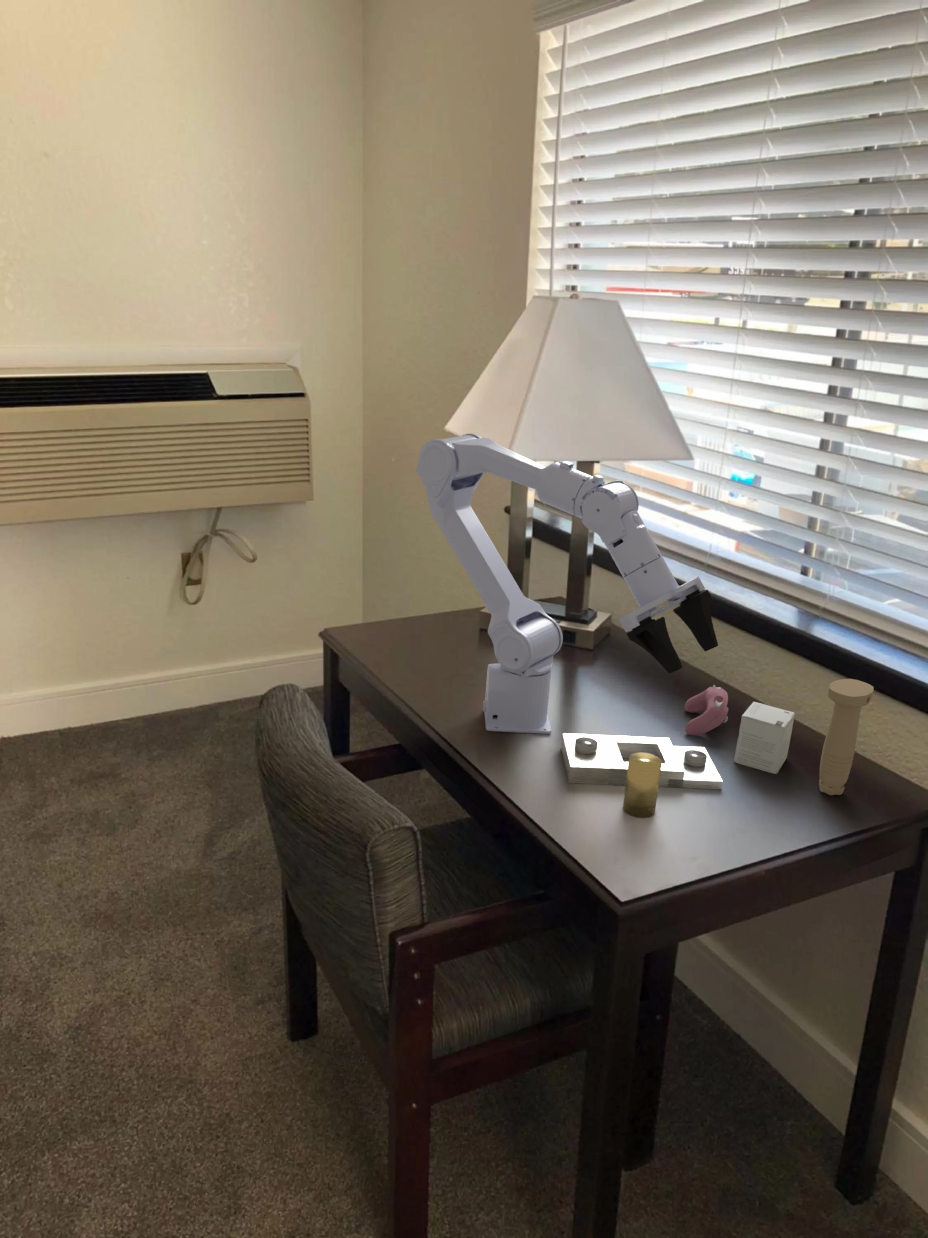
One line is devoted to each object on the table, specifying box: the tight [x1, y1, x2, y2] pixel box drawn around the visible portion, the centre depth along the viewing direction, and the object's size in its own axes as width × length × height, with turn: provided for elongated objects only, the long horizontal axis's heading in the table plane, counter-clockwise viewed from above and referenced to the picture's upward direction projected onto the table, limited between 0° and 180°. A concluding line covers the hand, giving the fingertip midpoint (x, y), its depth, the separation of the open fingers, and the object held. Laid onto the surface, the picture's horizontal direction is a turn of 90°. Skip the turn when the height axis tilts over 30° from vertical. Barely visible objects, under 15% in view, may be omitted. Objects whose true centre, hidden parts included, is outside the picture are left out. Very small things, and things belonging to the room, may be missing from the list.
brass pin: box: [622, 752, 662, 819], centre depth 124 cm, size 4×4×7 cm
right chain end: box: [609, 745, 723, 790], centre depth 135 cm, size 15×10×2 cm, turn 91°
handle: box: [818, 678, 874, 796], centre depth 130 cm, size 5×6×15 cm
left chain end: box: [560, 732, 685, 785], centre depth 135 cm, size 15×10×4 cm, turn 91°
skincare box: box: [733, 701, 796, 775], centre depth 138 cm, size 6×6×7 cm
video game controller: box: [684, 684, 729, 736], centre depth 149 cm, size 10×5×7 cm, turn 169°
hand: (694, 659), depth 128 cm, fingers open, 7 cm apart
